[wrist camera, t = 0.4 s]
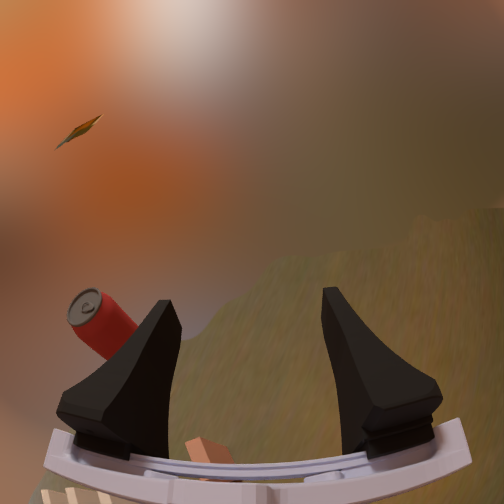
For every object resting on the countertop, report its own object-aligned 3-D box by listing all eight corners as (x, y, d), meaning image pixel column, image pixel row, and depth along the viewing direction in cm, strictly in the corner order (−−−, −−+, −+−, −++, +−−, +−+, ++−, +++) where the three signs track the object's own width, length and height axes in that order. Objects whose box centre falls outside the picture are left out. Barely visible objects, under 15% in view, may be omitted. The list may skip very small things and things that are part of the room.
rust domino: (226, 446, 25) (199, 437, 20) (241, 477, 22) (216, 476, 17) (214, 451, 25) (184, 442, 20) (228, 482, 22) (200, 482, 17)
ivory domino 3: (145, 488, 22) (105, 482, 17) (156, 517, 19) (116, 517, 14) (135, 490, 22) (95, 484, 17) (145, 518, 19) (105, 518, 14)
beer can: (146, 380, 33) (87, 333, 25) (112, 370, 35) (55, 325, 27) (162, 338, 37) (113, 284, 29) (128, 332, 39) (79, 282, 31)
